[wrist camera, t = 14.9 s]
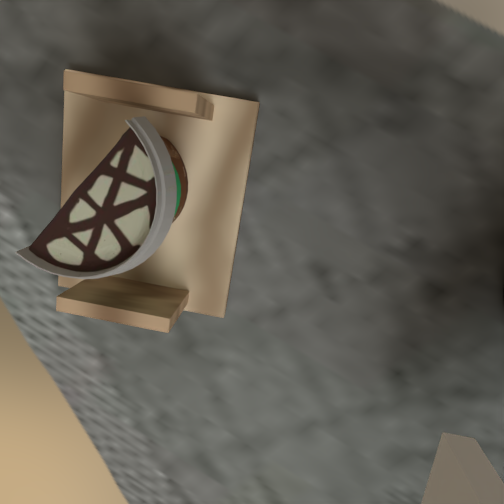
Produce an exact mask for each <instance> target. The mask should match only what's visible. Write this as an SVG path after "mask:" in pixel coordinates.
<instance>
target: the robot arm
mask: <svg viewBox="0 0 504 504" xmlns="http://www.w3.org/2000/svg"><path fill="white" fill-rule="evenodd" d="M421 504H504V483H503V482H502V480H501V479H500V477H499V476H498V474H497V472H496V471H495V469H494V468H493V466H492V465H491V463H490V462H489V460H488V458H487V457H486V455H485V454H484V452H483V451H482V449H481V448H480V446H479V444H478V443H477V441H476V440H475V438H470V437H465V436H459V435H454V434H449V433H444V432H443V433H442V436H441V440H440V443H439V446H438V449H437V453H436V456H435V459H434V463H433V466H432V469H431V473H430V476H429V479H428V483H427V486H426V489H425V493H424V496H423V499H422V503H421Z"/></svg>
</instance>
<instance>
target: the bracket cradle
mask: <svg viewBox="0 0 504 504" xmlns="http://www.w3.org/2000/svg"><path fill="white" fill-rule="evenodd" d="M63 90H65V94H64V124H63V155H62V186H61V208H62V207H63V205H64V204H65V203H66V201H67V200H68V198H69V197H70V196H71V194H72V193H73V192H74V191H75V190H76V188H77V187H78V186H79V185H80V184H81V183H82V182H83V181H84V180H85V179H86V178H87V177H88V176H89V174H90V173H91V172H92V171H93V170H94V169H95V168H96V167H97V166H98V164H99V163H100V162H101V161H102V160H103V159H104V158H105V157H106V155H107V154H108V153H109V152H110V151H111V150H112V148H113V147H114V146H115V145H116V144H117V142H118V141H119V140H120V138H121V136H122V135H123V134H124V133H125V132H126V131H127V130H128V128H129V127H130V126H129V125H128V124H127V123H126V122H125V120H131V119H132V118H133V117H142V116H145V117H146V118H147V119H148V121H149V122H150V123H151V124H152V125H153V126H154V128H155V129H156V131H157V132H158V134H159V135H160V136H162V137H164V138H166V139H168V140H169V141H170V142H171V143H172V144H173V145H174V147H175V148H176V149H177V151H178V153H179V154H180V156H181V158H182V160H183V162H184V165H185V168H186V172H187V177H188V194H187V199H186V202H185V205H184V208H183V210H182V211H181V213H180V215H179V216H178V217H177V219H176V220H175V221H174V222H173V223H172V224H171V227H170V230H169V232H168V234H167V235H166V237H165V239H164V241H163V243H162V244H161V245H160V246H159V248H158V249H157V250H156V251H155V253H154V254H152V255H151V256H150V257H149V258H148V259H147V260H146V261H144V262H143V263H141V264H140V265H138V266H136V267H135V268H133V269H130V270H128V271H125V272H123V273H120V274H116V275H111V276H107V277H102V278H97V279H77V278H69V277H63V276H59V278H58V286H63V287H68V288H70V289H68V290H67V291H65V292H63V293H62V294H60V295H58V296H57V304H56V311H61V312H66V313H71V314H76V315H81V316H86V317H91V318H96V319H101V320H106V321H111V322H116V323H121V324H126V325H131V326H136V327H141V328H146V329H151V330H156V331H161V332H166V333H169V331H170V330H171V328H172V327H173V325H174V323H175V322H176V320H177V319H178V317H179V316H180V314H181V313H182V311H183V310H185V311H191V312H196V313H201V314H206V315H211V316H216V317H221V318H224V315H225V312H226V306H227V300H228V294H229V288H230V281H231V275H232V269H233V263H234V257H235V251H236V245H237V239H238V233H239V227H240V221H241V215H242V209H243V203H244V197H245V190H246V184H247V178H248V172H249V166H250V160H251V154H252V148H253V142H254V136H255V130H256V124H257V118H258V112H259V105H260V103H259V102H254V101H248V100H243V99H237V98H231V97H225V96H219V95H214V94H208V93H202V92H196V91H190V90H185V89H179V88H173V87H167V86H161V85H155V84H150V83H144V82H138V81H132V80H126V79H121V78H115V77H109V76H103V75H97V74H92V73H86V72H80V71H74V70H68V69H65V71H64V84H63Z"/></svg>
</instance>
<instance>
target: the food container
mask: <svg viewBox="0 0 504 504" xmlns="http://www.w3.org/2000/svg"><path fill="white" fill-rule="evenodd" d="M125 122H126V123H127V124H128V125H129V126H130V127H129V128H128V130H127V131H126V132H125V133H124V134H123V135H122V136H121V138H120V140H119V141H118V142H117V144H116V145H115V146H114V147H113V148H112V150H111V151H110V152H109V153H108V154H107V155H106V157H105V158H104V159H103V160H102V161H101V162H100V163H99V164H98V166H97V167H96V168H95V169H94V170H93V171H92V172H91V173H90V174H89V176H88V177H87V178H86V179H85V180H84V181H83V182H82V183H81V184H80V185H79V186H78V187H77V188H76V190H75V191H74V192H73V193H72V194H71V196H70V197H69V198H68V200H67V201H66V203H65V204H64V205H63V207H62V208H61V209H60V211H59V212H58V213H57V214H56V216H55V217H54V218H53V220H52V221H51V222H50V223H49V224H48V225H47V227H46V228H45V229H44V230H43V231H42V233H41V234H40V235H39V236H38V237H37V239H36V240H35V241H34V242H33V243H32V245H31V246H29V247H26V248H24V249H22V250H19V251H17V252H16V254H18V255H19V256H20V257H22V258H23V259H24V260H25V261H27V262H29V263H30V264H32V265H34V266H35V267H37V268H39V269H41V270H44V271H46V272H49V273H51V274H55V275H59V276H63V277H69V278H77V279H97V278H102V277H107V276H111V275H116V274H120V273H123V272H125V271H128V270H130V269H133V268H135V267H136V266H138V265H140V264H141V263H143V262H144V261H146V260H147V259H148V258H149V257H150V256H151V255H152V254H154V253H155V251H156V250H157V249H158V248H159V246H160V245H161V244H162V243H163V241H164V239H165V237H166V235H167V234H168V232H169V230H170V227H171V224H172V223H173V222H174V221H175V220H176V219H177V217H178V216H179V215H180V213H181V211H182V210H183V208H184V205H185V202H186V199H187V194H188V177H187V172H186V168H185V165H184V162H183V160H182V158H181V156H180V154H179V153H178V151H177V149H176V148H175V147H174V145H173V144H172V143H171V142H170V141H169V140H168V139H166V138H164V137H162V136H160V135H159V134H158V132H157V131H156V129H155V128H154V126H153V125H152V124H151V123H150V122H149V121H148V119H147V118H146V117H145V116H142V117H133V118H132V119H131V120H125Z"/></svg>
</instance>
